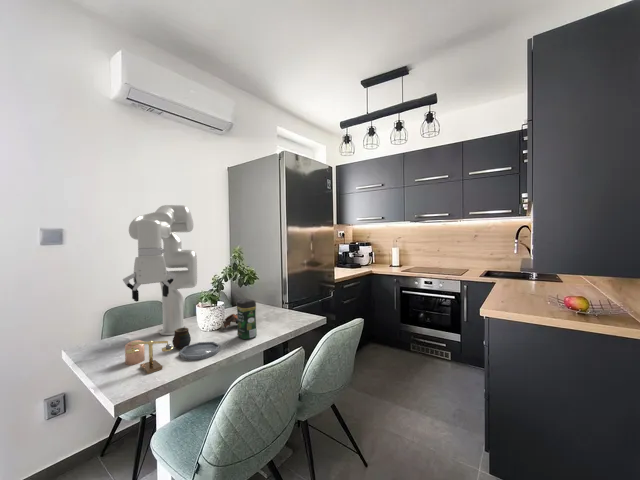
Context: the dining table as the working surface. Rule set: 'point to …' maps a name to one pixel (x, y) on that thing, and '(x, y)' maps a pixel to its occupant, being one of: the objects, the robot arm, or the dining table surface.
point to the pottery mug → (230, 320)
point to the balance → (150, 356)
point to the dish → (199, 350)
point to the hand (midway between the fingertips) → (151, 298)
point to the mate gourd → (181, 338)
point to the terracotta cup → (135, 357)
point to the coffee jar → (246, 318)
